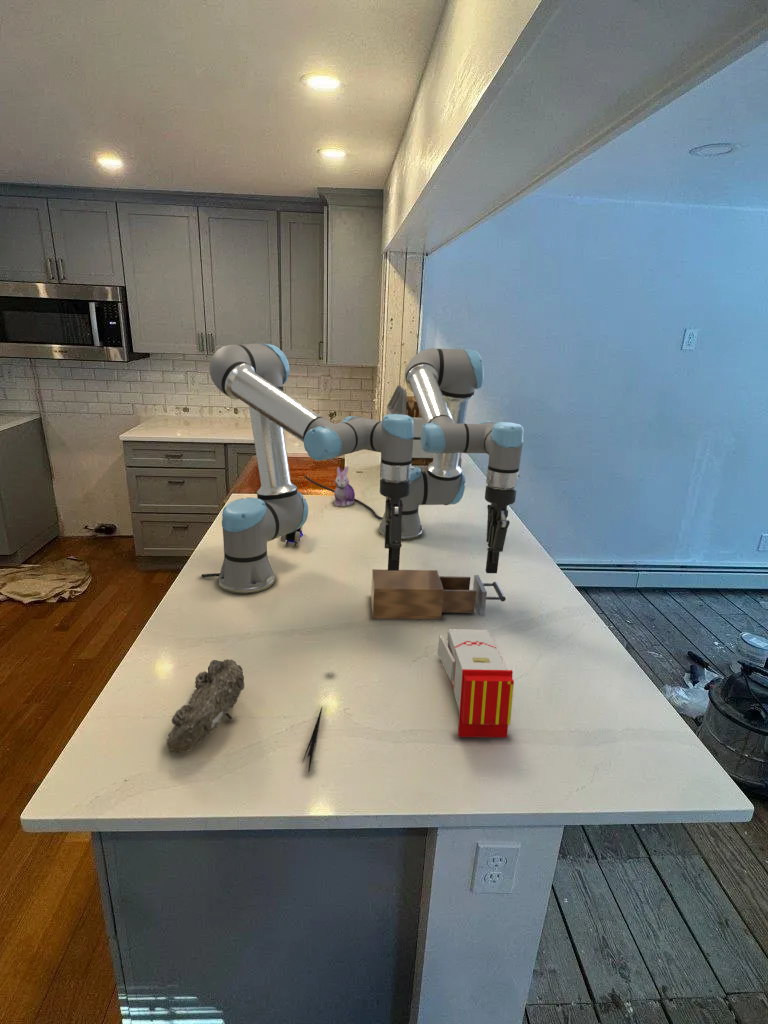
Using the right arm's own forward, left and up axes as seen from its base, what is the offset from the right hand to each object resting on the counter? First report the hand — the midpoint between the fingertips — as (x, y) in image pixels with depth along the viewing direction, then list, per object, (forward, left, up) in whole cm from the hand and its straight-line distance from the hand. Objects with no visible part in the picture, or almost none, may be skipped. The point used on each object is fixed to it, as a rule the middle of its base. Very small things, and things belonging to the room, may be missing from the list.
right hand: (491, 572), depth 148 cm
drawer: (-5, -6, -10) cm, 13 cm away
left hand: (-16, -21, +3) cm, 27 cm away
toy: (+21, -30, -11) cm, 38 cm away
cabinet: (-13, -17, -11) cm, 25 cm away
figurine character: (-69, -17, -11) cm, 72 cm away
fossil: (-5, -76, -11) cm, 77 cm away
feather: (+8, -60, -11) cm, 62 cm away
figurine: (-90, +20, -11) cm, 93 cm away
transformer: (-106, +77, -11) cm, 132 cm away
